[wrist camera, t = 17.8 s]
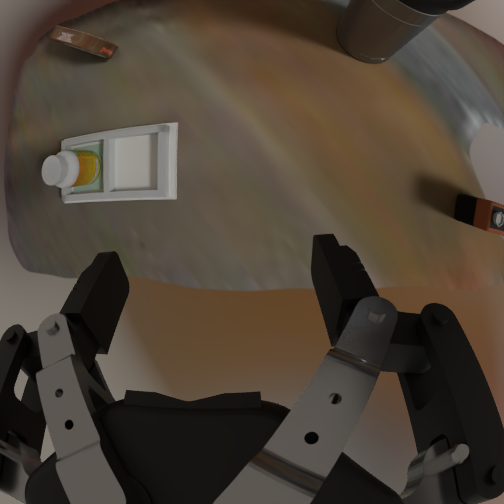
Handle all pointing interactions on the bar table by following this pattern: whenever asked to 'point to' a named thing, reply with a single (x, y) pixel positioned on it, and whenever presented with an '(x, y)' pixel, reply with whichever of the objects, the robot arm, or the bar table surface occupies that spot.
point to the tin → (83, 41)
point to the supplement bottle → (72, 168)
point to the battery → (480, 213)
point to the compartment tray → (129, 164)
